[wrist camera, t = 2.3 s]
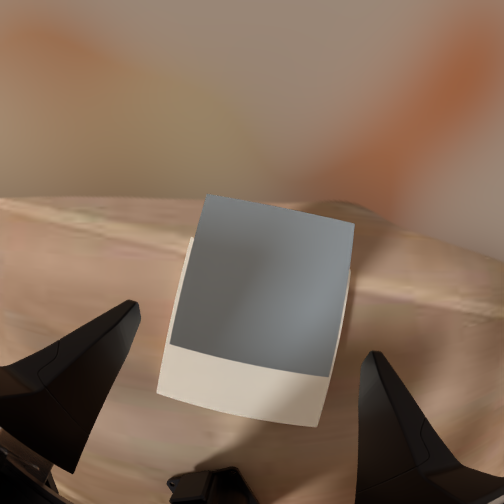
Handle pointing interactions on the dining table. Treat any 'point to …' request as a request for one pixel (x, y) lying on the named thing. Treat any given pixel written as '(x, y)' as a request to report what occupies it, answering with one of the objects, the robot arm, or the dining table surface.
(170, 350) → the tile
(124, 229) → the dining table surface
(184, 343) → the slate-blue block
